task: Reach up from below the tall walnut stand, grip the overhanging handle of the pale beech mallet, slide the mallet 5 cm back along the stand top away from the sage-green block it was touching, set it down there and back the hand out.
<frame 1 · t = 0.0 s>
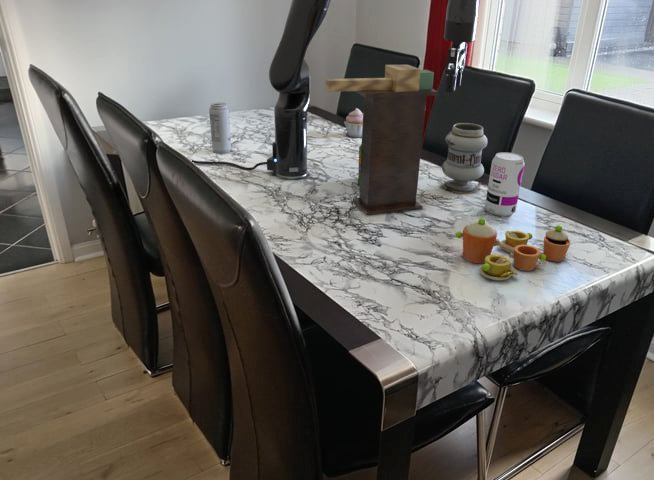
hand: (452, 89, 147), 29 cm above the table, tool pointing down, fingers open, 8 cm apart
energy drink can: (222, 151, 189), on the table
mallet: (395, 88, 139), point 30 cm above the table, touching stand
toy tea set: (511, 260, 129), on the table
chalk box: (375, 183, 169), on the table
stand: (387, 205, 154), on the table
apothecary jar: (460, 188, 170), on the table
cupcake: (355, 136, 215), on the table
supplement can: (499, 211, 155), on the table
block: (421, 88, 142), point 30 cm above the table, touching stand
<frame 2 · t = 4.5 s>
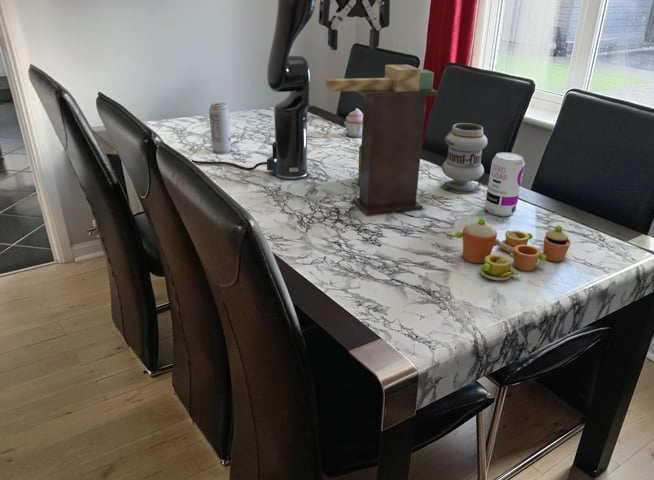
hand: (353, 49, 117), 41 cm above the table, tool pointing down, fingers open, 8 cm apart
nothing on the table moved.
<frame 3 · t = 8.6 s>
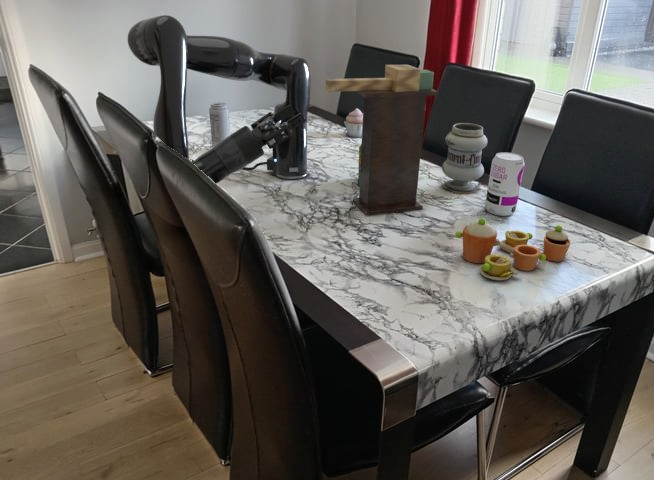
hand: (297, 112, 133), 25 cm above the table, tool pointing upward, fingers open, 8 cm apart
nothing on the table moved.
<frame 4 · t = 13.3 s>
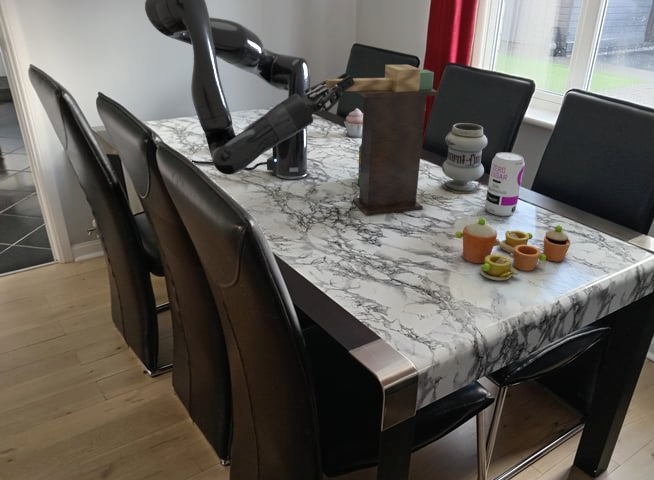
hand: (349, 78, 134), 33 cm above the table, tool pointing upward, fingers closed on mallet, 2 cm apart
mallet: (395, 88, 139), point 30 cm above the table, touching gripper, stand
everything else where it was.
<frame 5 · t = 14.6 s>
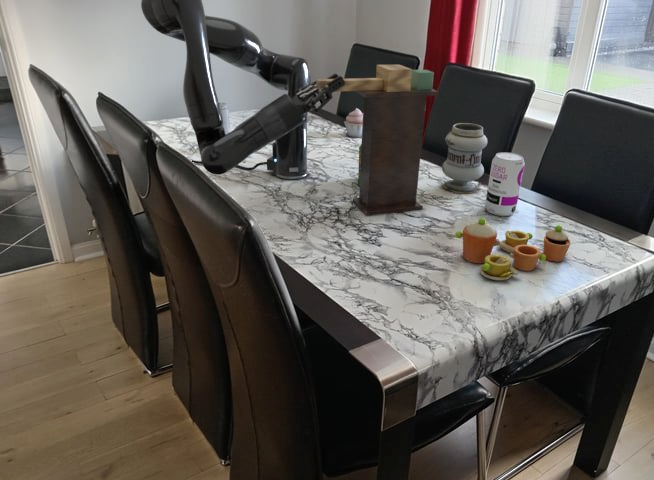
hand: (340, 78, 133), 33 cm above the table, tool pointing upward, fingers closed on mallet, 2 cm apart
mallet: (386, 89, 138), point 30 cm above the table, touching gripper
everything else where it was.
when the fingers open (33 cm above the table, at t = 15.8 s): mallet stays where it is, resting on stand.
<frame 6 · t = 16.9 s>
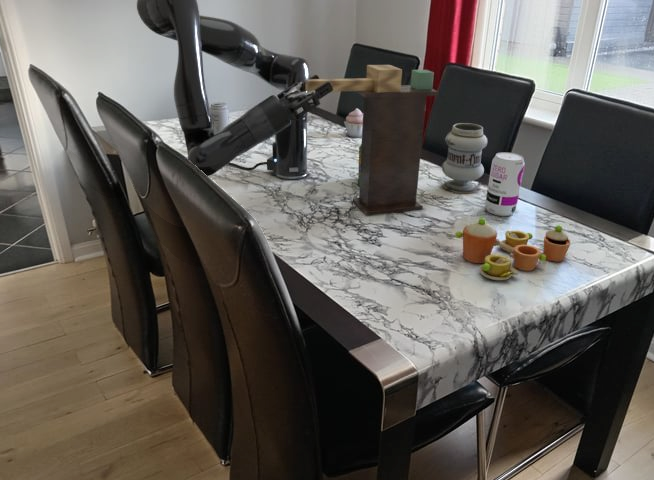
hand: (324, 81, 132), 32 cm above the table, tool pointing upward, fingers open, 8 cm apart
mallet: (377, 89, 137), point 30 cm above the table, touching stand
everything else where it was.
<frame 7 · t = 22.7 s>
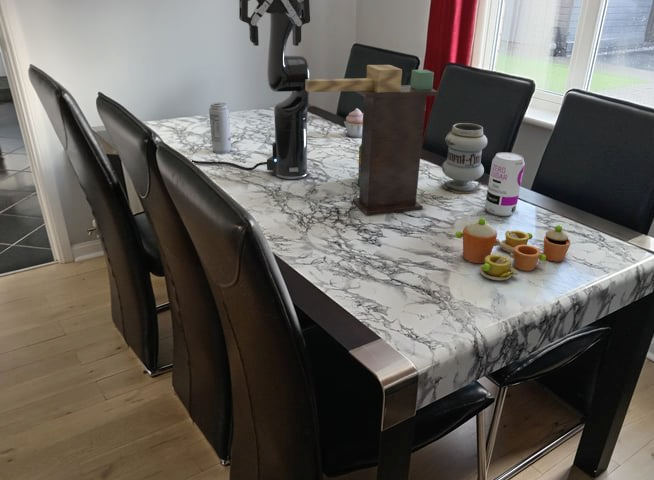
hand: (275, 45, 121), 40 cm above the table, tool pointing down, fingers open, 8 cm apart
nothing on the table moved.
at the end: mallet moved 4.9 cm from its start; block moved 0.0 cm from its start; mallet point 30.0 cm above the table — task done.
